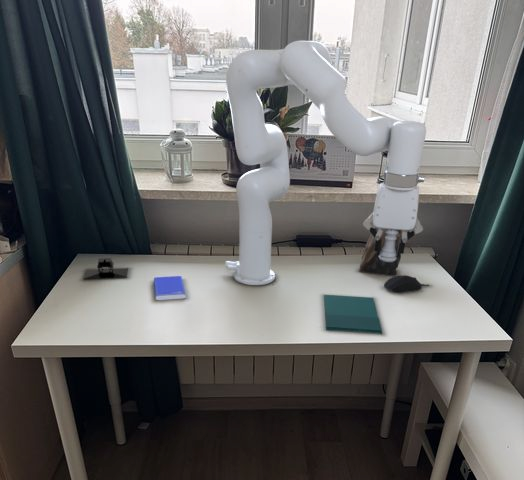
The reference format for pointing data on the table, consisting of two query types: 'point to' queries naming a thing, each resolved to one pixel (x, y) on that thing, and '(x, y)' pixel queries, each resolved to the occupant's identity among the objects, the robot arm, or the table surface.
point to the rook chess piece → (389, 246)
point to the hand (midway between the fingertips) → (388, 254)
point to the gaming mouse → (403, 284)
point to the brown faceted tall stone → (373, 262)
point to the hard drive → (169, 288)
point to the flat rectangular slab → (351, 314)
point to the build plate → (106, 271)
